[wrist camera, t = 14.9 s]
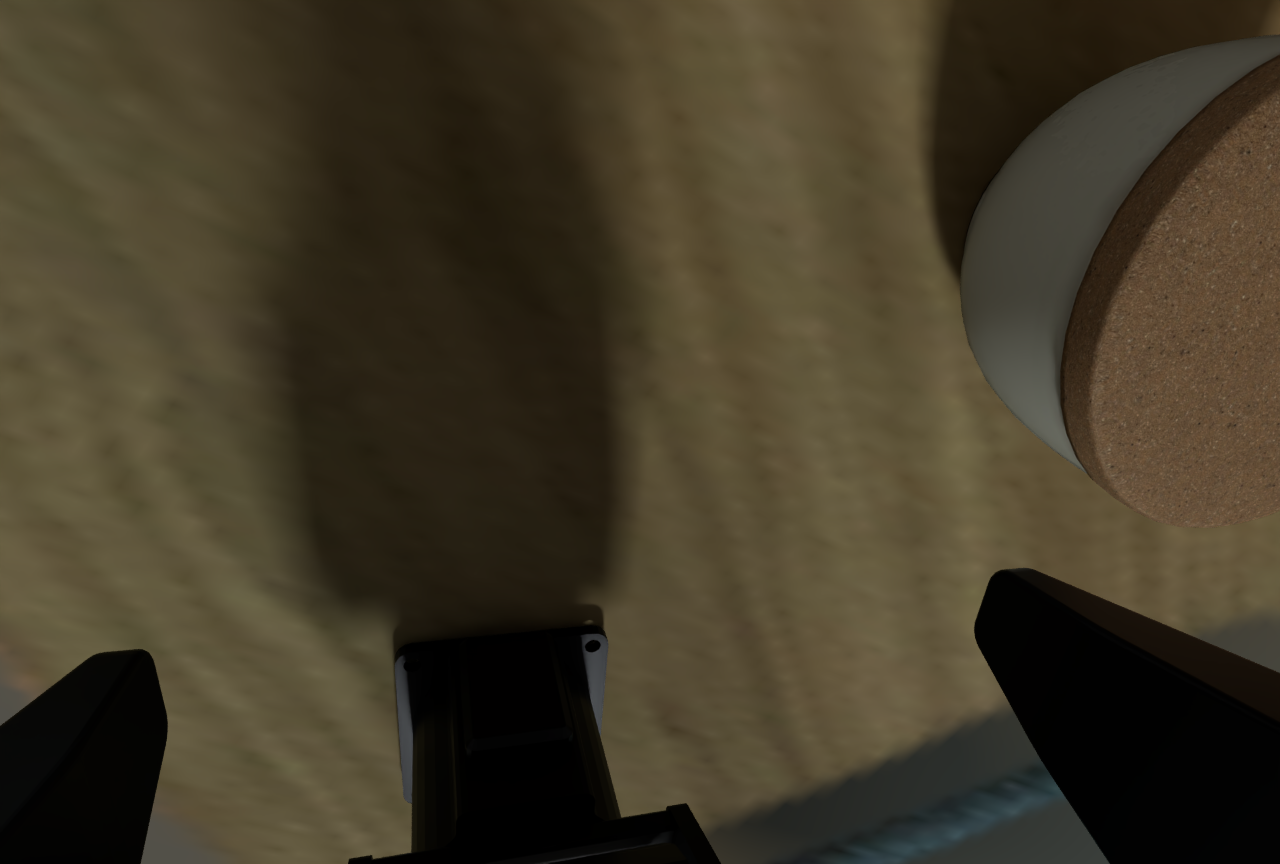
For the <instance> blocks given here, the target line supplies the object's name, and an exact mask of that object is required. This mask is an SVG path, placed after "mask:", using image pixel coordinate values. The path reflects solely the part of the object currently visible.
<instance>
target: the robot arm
mask: <svg viewBox="0 0 1280 864" xmlns="http://www.w3.org/2000/svg"><path fill="white" fill-rule="evenodd" d="M974 633H975V639H976V642H977V644H978V647H979V649H980V650H981V652H982V654H983V656H984V658H985V660H986V661H987V663H988V665H989V667H990V669H991V671H992V672H993V674H994V676H995V678H996V680H997V681H998V683H999V685H1000V687H1001V689H1002V691H1003V692H1004V694H1005V696H1006V698H1007V700H1008V702H1009V703H1010V705H1011V707H1012V709H1013V711H1014V713H1015V714H1016V716H1017V718H1018V720H1019V722H1020V724H1021V725H1022V727H1023V729H1024V731H1025V733H1026V734H1027V736H1028V738H1029V740H1030V742H1031V743H1032V745H1033V747H1034V748H1035V750H1036V752H1037V754H1038V756H1039V757H1040V759H1041V761H1042V762H1043V764H1044V765H1045V767H1046V769H1047V770H1048V772H1049V773H1050V775H1051V776H1052V778H1053V779H1054V781H1055V782H1056V784H1057V785H1058V787H1059V788H1060V790H1061V791H1062V793H1063V794H1064V796H1065V797H1066V799H1067V800H1068V802H1069V803H1070V805H1071V806H1072V808H1073V809H1074V811H1075V812H1076V814H1077V816H1078V817H1079V819H1080V820H1081V822H1082V823H1083V825H1084V826H1085V827H1086V829H1087V830H1088V832H1089V834H1090V835H1091V837H1092V838H1093V840H1094V841H1095V843H1096V844H1097V846H1098V847H1099V849H1100V850H1101V851H1102V853H1103V855H1104V856H1105V857H1106V859H1107V860H1108V862H1109V863H1110V864H1280V673H1278V672H1276V671H1274V670H1271V669H1269V668H1267V667H1264V666H1262V665H1260V664H1257V663H1255V662H1252V661H1250V660H1248V659H1245V658H1243V657H1241V656H1238V655H1236V654H1233V653H1231V652H1229V651H1226V650H1224V649H1221V648H1219V647H1217V646H1214V645H1212V644H1210V643H1207V642H1205V641H1202V640H1200V639H1198V638H1195V637H1193V636H1191V635H1188V634H1186V633H1183V632H1181V631H1179V630H1176V629H1174V628H1172V627H1169V626H1167V625H1164V624H1162V623H1160V622H1157V621H1155V620H1153V619H1150V618H1148V617H1145V616H1143V615H1141V614H1138V613H1136V612H1134V611H1131V610H1129V609H1126V608H1124V607H1122V606H1119V605H1117V604H1115V603H1112V602H1110V601H1107V600H1105V599H1103V598H1100V597H1098V596H1096V595H1093V594H1091V593H1088V592H1086V591H1084V590H1081V589H1079V588H1077V587H1074V586H1072V585H1069V584H1067V583H1065V582H1062V581H1060V580H1058V579H1055V578H1053V577H1050V576H1048V575H1046V574H1043V573H1041V572H1039V571H1036V570H1033V569H1030V568H1016V569H1005V570H1000V571H997V572H996V573H995V574H994V575H993V576H992V577H991V578H990V580H989V583H988V586H987V589H986V592H985V594H984V597H983V600H982V603H981V606H980V609H979V612H978V615H977V618H976V621H975V625H974ZM591 640H597V641H596V642H594V643H592V644H586V643H588V642H589V641H591ZM607 653H608V640H607V637H606V634H605V631H604V630H603V629H602V628H601V627H599V626H592V625H591V626H581V627H571V628H561V629H551V630H541V631H531V632H521V633H511V634H501V635H491V636H480V637H470V638H460V639H450V640H440V641H430V642H420V643H411V644H407V645H404V646H403V647H401V648H400V649H399V650H398V651H397V653H396V657H395V677H396V692H397V706H398V721H399V736H400V751H401V765H402V780H403V795H404V798H405V800H406V801H407V802H408V803H411V804H412V846H411V853H406V854H400V855H394V856H388V857H382V858H376V859H373V857H372V855H370V856H364V857H358V858H351V859H349V862H348V864H721V863H720V861H719V859H718V857H717V856H716V854H715V852H714V850H713V849H712V847H711V845H710V844H709V842H708V840H707V838H706V836H705V835H704V833H703V831H702V829H701V828H700V826H699V824H698V822H697V821H696V819H695V817H694V815H693V813H692V812H691V810H690V808H689V806H688V805H687V804H686V803H684V804H678V805H672V806H667V808H666V810H665V811H659V812H653V813H647V814H641V815H635V816H629V817H623V818H621V815H620V811H619V807H618V803H617V799H616V795H615V792H614V788H613V784H612V780H611V776H610V772H609V768H608V764H607V761H606V757H605V753H604V749H603V745H602V741H601V737H600V735H601V724H602V712H603V700H604V689H605V677H606V665H607ZM409 659H417V660H418V661H417V662H414V663H410V662H407V660H409ZM167 732H168V721H167V713H166V709H165V705H164V701H163V697H162V692H161V688H160V684H159V680H158V676H157V672H156V667H155V663H154V660H153V658H152V656H151V655H150V653H149V652H147V651H145V650H143V649H134V650H123V651H112V652H103V653H98V654H95V655H93V656H91V657H90V658H88V659H87V660H85V661H84V662H83V663H81V664H80V665H79V666H78V667H76V668H75V669H74V670H72V671H71V672H70V673H68V674H67V675H66V676H64V677H63V678H62V679H61V680H59V681H58V682H57V683H55V684H54V685H53V686H51V687H50V688H49V689H48V690H46V691H45V692H44V693H42V694H41V695H40V696H38V697H37V698H36V699H35V700H33V701H32V702H31V703H29V704H28V705H27V706H25V707H24V708H23V709H22V710H20V711H19V712H18V713H16V714H15V715H14V716H12V717H11V718H10V719H9V720H7V721H6V722H5V723H3V724H2V725H1V726H0V864H141V859H142V855H143V850H144V845H145V841H146V836H147V831H148V826H149V822H150V817H151V812H152V808H153V803H154V798H155V793H156V789H157V784H158V779H159V775H160V770H161V765H162V761H163V756H164V751H165V746H166V741H167Z"/></svg>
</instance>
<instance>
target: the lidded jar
mask: <svg viewBox="0 0 1280 864" xmlns="http://www.w3.org/2000/svg"><path fill="white" fill-rule="evenodd" d="M960 299H961V311H962V317H963V323H964V327H965V331H966V335H967V339H968V343H969V346H970V348H971V350H972V353H973V355H974V357H975V359H976V361H977V363H978V365H979V367H980V369H981V371H982V373H983V375H984V377H985V379H986V381H987V382H988V384H989V385H990V386H991V388H992V389H993V390H994V392H995V393H996V394H997V396H998V397H999V398H1000V399H1001V401H1002V402H1003V403H1004V404H1005V405H1006V407H1007V408H1008V409H1009V410H1010V411H1011V413H1012V414H1013V415H1014V416H1015V417H1016V418H1017V419H1018V420H1019V421H1020V422H1021V423H1022V424H1024V425H1025V426H1026V427H1027V428H1028V429H1029V430H1030V431H1031V432H1032V433H1033V434H1035V435H1036V436H1037V437H1038V438H1039V439H1040V440H1042V441H1043V442H1044V443H1045V444H1046V445H1048V446H1049V447H1050V448H1051V449H1052V450H1054V451H1055V452H1056V453H1058V454H1059V455H1060V456H1062V457H1063V458H1065V459H1066V460H1067V461H1069V462H1070V463H1072V464H1073V465H1074V466H1076V467H1077V468H1079V469H1080V470H1082V471H1083V472H1085V473H1086V474H1088V475H1089V476H1090V478H1091V479H1092V480H1094V481H1095V482H1096V483H1097V484H1098V485H1100V486H1101V487H1102V488H1103V489H1104V490H1105V491H1107V492H1108V493H1109V494H1110V495H1111V496H1113V497H1114V498H1115V499H1117V500H1118V501H1120V502H1121V503H1123V504H1124V505H1126V506H1127V507H1129V508H1131V509H1132V510H1134V511H1136V512H1138V513H1140V514H1142V515H1144V516H1146V517H1148V518H1150V519H1152V520H1154V521H1156V522H1161V523H1165V524H1170V525H1174V526H1179V527H1219V526H1225V525H1231V524H1237V523H1242V522H1246V521H1250V520H1253V519H1257V518H1260V517H1264V516H1267V515H1270V514H1273V513H1275V512H1277V511H1279V510H1280V34H1279V35H1265V36H1259V37H1252V38H1246V39H1239V40H1233V41H1227V42H1221V43H1215V44H1209V45H1203V46H1198V47H1192V48H1189V49H1185V50H1181V51H1178V52H1174V53H1171V54H1167V55H1163V56H1160V57H1157V58H1154V59H1151V60H1148V61H1146V62H1143V63H1140V64H1138V65H1135V66H1132V67H1129V68H1127V69H1125V70H1123V71H1121V72H1119V73H1117V74H1115V75H1113V76H1111V77H1109V78H1107V79H1105V80H1103V81H1101V82H1099V83H1097V84H1096V85H1094V86H1092V87H1090V88H1088V89H1087V90H1085V91H1083V92H1081V93H1079V94H1078V95H1077V96H1075V97H1074V98H1073V99H1071V100H1070V101H1069V102H1067V103H1066V104H1065V105H1063V106H1062V107H1061V108H1059V109H1058V110H1057V111H1055V112H1054V113H1053V114H1052V115H1050V116H1049V117H1048V118H1047V119H1045V120H1044V121H1043V122H1042V123H1041V124H1040V125H1039V126H1038V127H1037V128H1036V129H1035V130H1033V131H1032V132H1031V133H1030V134H1029V135H1028V136H1027V137H1026V138H1025V139H1024V140H1023V141H1022V142H1021V143H1020V145H1019V146H1018V147H1017V148H1016V150H1015V151H1014V152H1013V153H1012V155H1011V156H1010V157H1009V158H1008V159H1007V161H1006V162H1005V163H1004V164H1003V166H1002V168H1001V169H1000V171H999V172H998V173H997V174H996V176H995V177H994V178H993V179H992V181H991V182H990V184H989V185H988V187H987V189H986V190H985V192H984V193H983V195H982V197H981V199H980V201H979V203H978V205H977V207H976V209H975V211H974V214H973V216H972V219H971V222H970V225H969V228H968V232H967V237H966V241H965V246H964V255H963V260H962V265H961V278H960Z"/></svg>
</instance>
